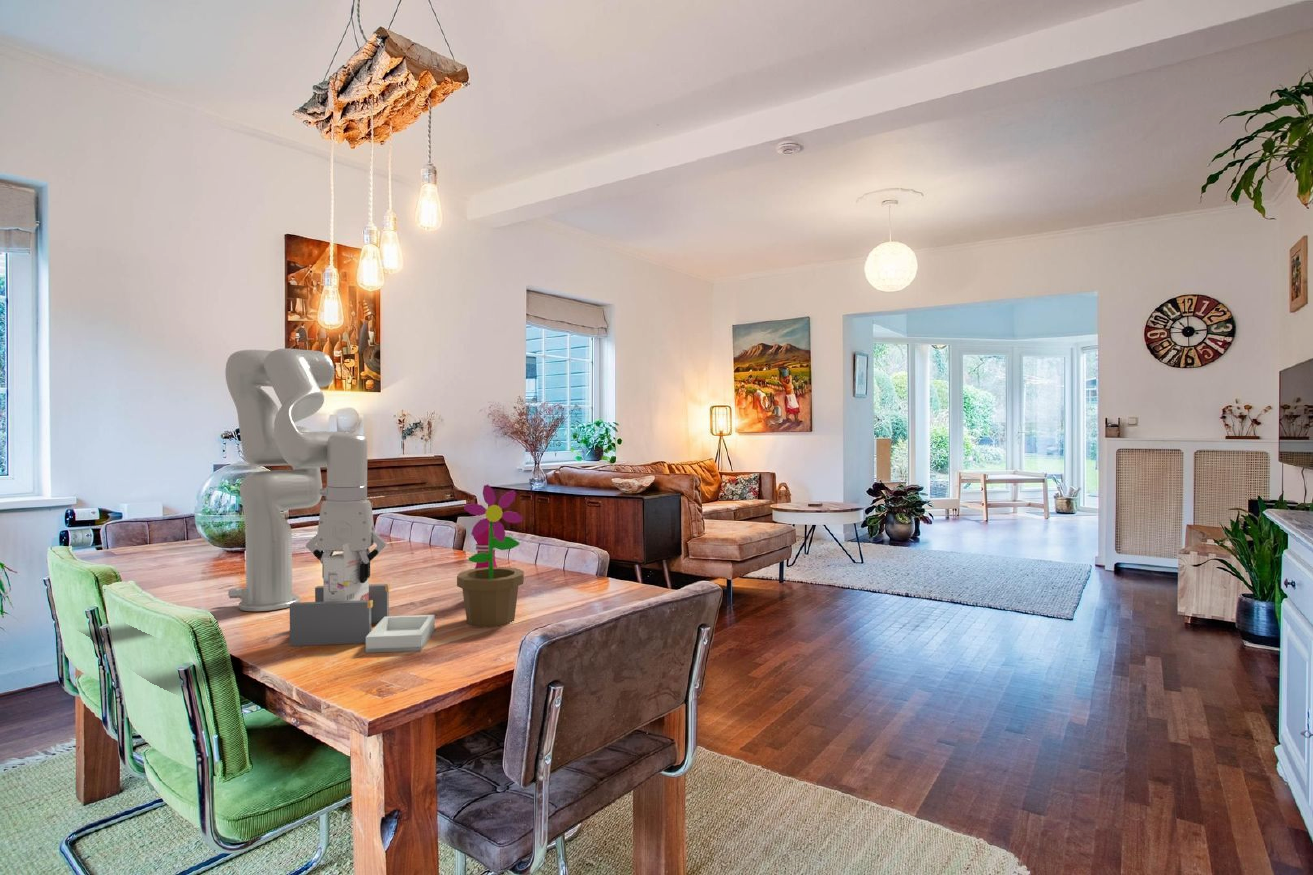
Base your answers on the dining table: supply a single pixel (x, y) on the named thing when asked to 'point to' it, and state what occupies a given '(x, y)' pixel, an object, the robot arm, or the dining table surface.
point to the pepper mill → (484, 547)
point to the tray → (400, 634)
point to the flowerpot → (491, 567)
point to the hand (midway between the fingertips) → (346, 580)
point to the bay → (337, 618)
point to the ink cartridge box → (344, 577)
